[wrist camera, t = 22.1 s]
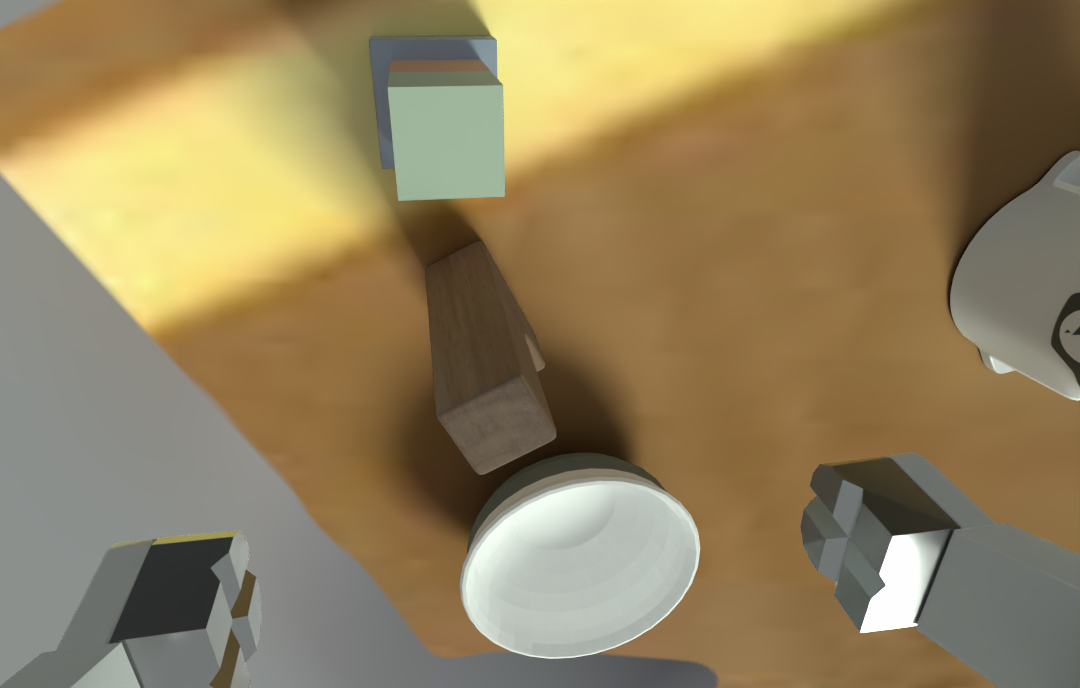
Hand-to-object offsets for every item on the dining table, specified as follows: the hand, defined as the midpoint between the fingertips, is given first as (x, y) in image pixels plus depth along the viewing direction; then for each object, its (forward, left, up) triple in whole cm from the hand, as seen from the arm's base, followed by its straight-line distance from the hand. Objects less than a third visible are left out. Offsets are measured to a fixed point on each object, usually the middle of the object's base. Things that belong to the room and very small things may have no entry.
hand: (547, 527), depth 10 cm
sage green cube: (0, 0, -30) cm, 30 cm away
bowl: (-9, +33, -37) cm, 51 cm away
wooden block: (-2, +14, -37) cm, 40 cm away
